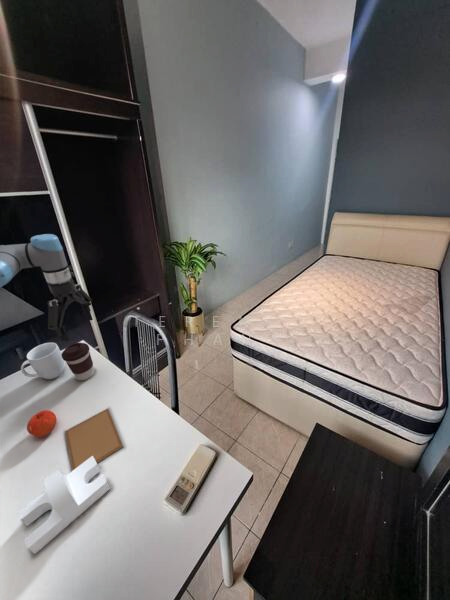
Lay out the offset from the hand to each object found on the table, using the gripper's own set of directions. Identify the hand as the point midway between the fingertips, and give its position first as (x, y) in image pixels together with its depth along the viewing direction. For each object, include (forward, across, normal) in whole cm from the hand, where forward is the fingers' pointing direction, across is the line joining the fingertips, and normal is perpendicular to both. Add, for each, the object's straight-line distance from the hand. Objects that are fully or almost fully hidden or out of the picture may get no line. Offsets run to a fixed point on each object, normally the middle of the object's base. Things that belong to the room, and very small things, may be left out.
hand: (78, 329), depth 96 cm
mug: (+25, -4, +18) cm, 31 cm away
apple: (+23, -27, -1) cm, 35 cm away
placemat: (+22, -28, -19) cm, 40 cm away
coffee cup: (+24, -2, +3) cm, 24 cm away
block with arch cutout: (+21, -45, -24) cm, 55 cm away
